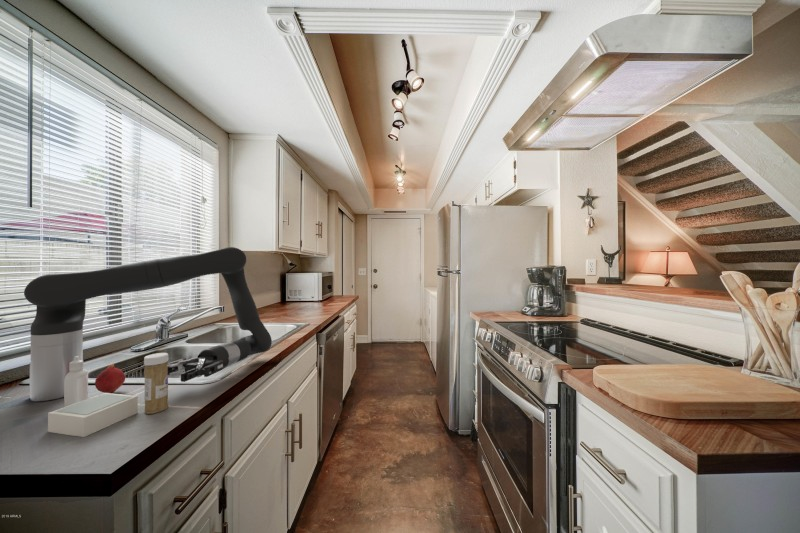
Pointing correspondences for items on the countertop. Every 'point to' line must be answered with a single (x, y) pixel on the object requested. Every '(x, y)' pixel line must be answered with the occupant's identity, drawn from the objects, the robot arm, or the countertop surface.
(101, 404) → the block
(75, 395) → the eye dropper bottle
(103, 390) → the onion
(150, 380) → the sprinkles bottle
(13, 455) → the countertop surface
